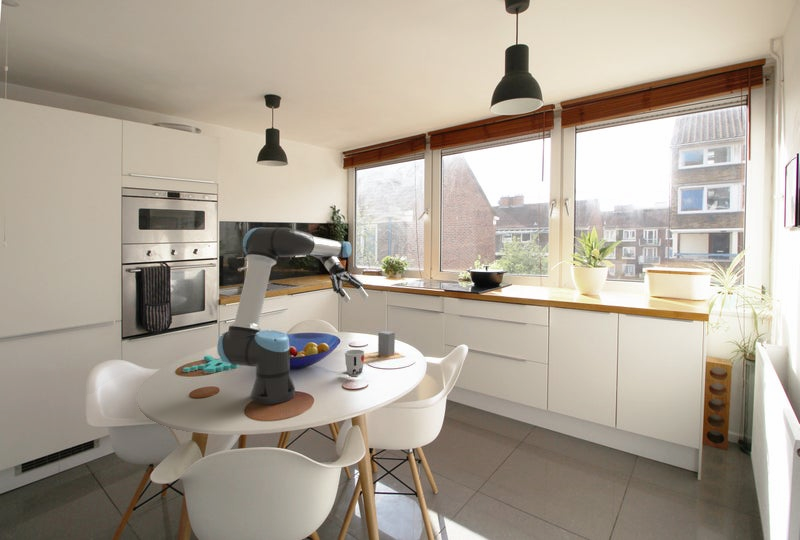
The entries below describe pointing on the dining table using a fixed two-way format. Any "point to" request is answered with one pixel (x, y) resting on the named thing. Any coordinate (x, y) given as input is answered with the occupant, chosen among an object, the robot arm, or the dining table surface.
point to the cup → (354, 361)
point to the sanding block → (386, 343)
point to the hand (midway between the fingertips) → (357, 299)
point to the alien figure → (211, 365)
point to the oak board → (379, 357)
